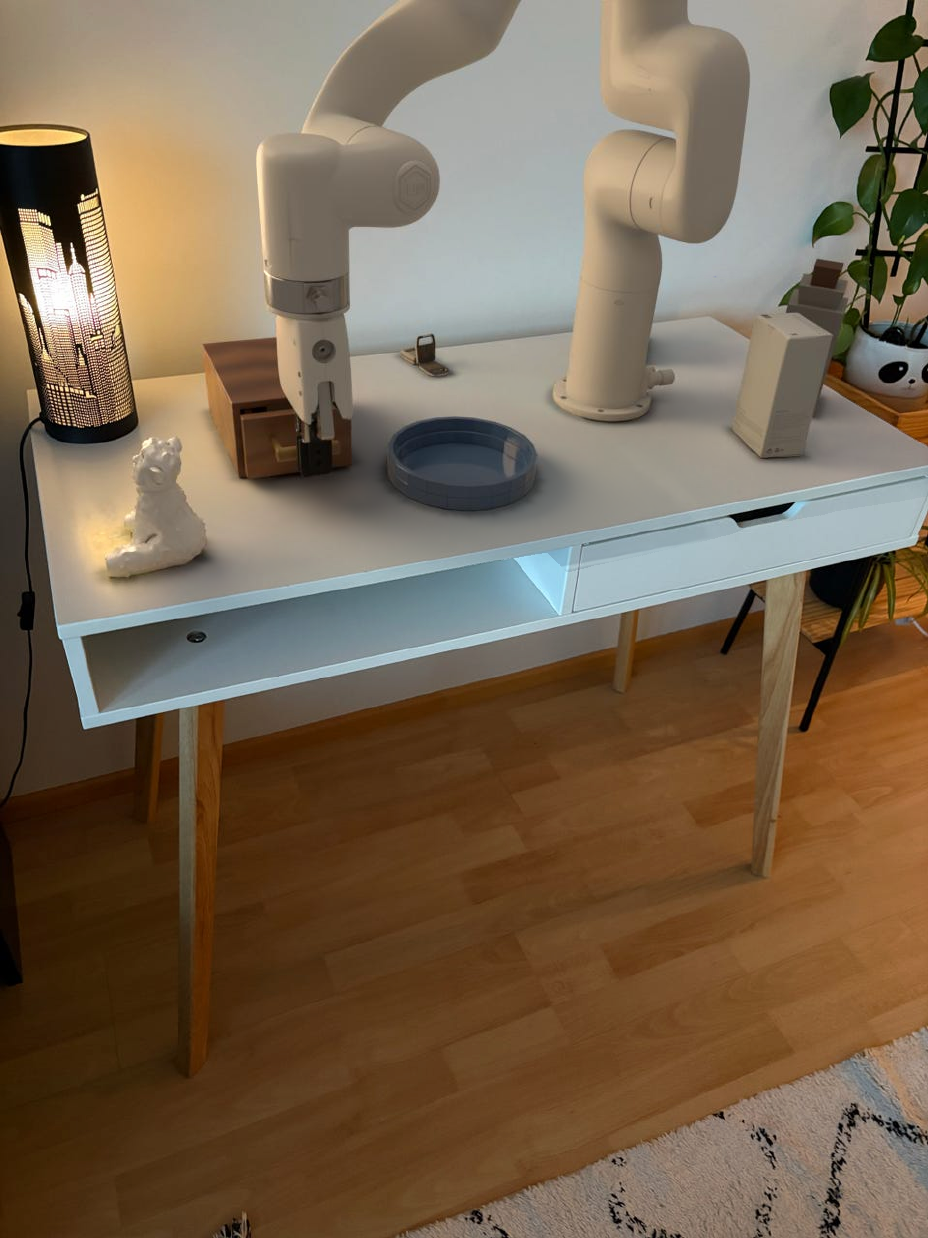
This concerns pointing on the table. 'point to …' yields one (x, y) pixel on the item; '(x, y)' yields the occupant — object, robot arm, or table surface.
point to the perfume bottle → (822, 302)
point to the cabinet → (240, 387)
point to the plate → (461, 463)
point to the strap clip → (424, 357)
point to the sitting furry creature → (158, 515)
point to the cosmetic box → (780, 384)
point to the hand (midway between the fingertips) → (315, 471)
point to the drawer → (284, 442)
